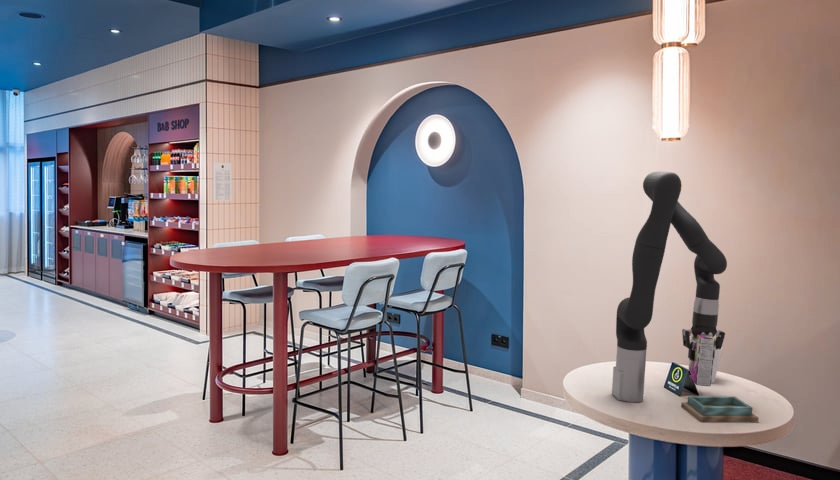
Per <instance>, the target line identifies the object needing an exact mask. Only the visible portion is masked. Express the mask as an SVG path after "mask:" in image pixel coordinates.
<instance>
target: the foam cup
mask: <svg viewBox="0 0 840 480" xmlns="http://www.w3.org/2000/svg"><path fill="white" fill-rule="evenodd" d="M722 351H723V346H722V347H721V349H717V350H715V355H714V360H713V368H712V378H711V384H714V383H715V381H716V377H717V372H718V369H719V368H718V367H719V364H720V360H721V355H722V354H723V352H722Z"/></svg>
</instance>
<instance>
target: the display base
mask: <svg viewBox="0 0 840 480" xmlns="http://www.w3.org/2000/svg"><path fill="white" fill-rule="evenodd" d="M680 404H681V405H680V406H681V409H683V410H685V411H686V412H687V413H688V414H689V415H691V416H693V417H694V418H695V419H696V420H697V421H699V422H700V423H759V416H757V415H756V414H755V413H753V407H752V406H750V405H749V404H747V403H746V402H744V401H743V400H741V399H739V398H738V397H736V396H716V395H715V396H713V395H712V396H711V395H709V396H703V395H702V396H700V395H697V396H693V395H692V396H690V395H689V396H687V402H685V401H683V402H681V403H680Z"/></svg>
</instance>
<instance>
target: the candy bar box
mask: <svg viewBox="0 0 840 480" xmlns="http://www.w3.org/2000/svg"><path fill="white" fill-rule="evenodd" d="M692 336H693V334H692V333H691V337H690V339H691V338H692ZM694 340H695V341H696V340H697V344H696V349H695V360H694V361H691V360H690V359H689V358H688V370H689V371H690V373H691V375H690V376H689V378H690V379H691V381H692V382H693V383H694V384H695V386H699V387H710V388H711V386H712V383H711V378H712V368H713V357H714V346H715V340H716V337H715V336H714V337H713V336H711V335H707V334H705V335H699V334H698V335H697V338H696V339H694Z"/></svg>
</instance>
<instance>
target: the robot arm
mask: <svg viewBox="0 0 840 480" xmlns="http://www.w3.org/2000/svg"><path fill="white" fill-rule="evenodd" d="M642 188H643V189H642V190H643V191H644V193H645V195H646V196H647V197H648V198H649V200H650V201H651V202H652V204H651V209H650V213H649V216H648V217H647V219H646V221H645V223H644V225H642V227H641V229H640V231H639V232H638V235H637V236H636V239H635V243H634V247H633V251H632V258H631V268H632V269H631V270H632V286H631V287H632V288H631V291H630V295H629V297H626V298H624V299H622V300H621V301H620V302H619V303H618V306H617V309H616V318H615V319H616V320H615V322H616V323H615V335H616V341H617V343H616V357H615V358H616V360H615V366H613V371H612V385H611V386H612V387H611V394H612V396H613V397H614V398H616V400H618V401H622V402H628V403H629V402H630V403H639V402H642V401H643V400H644V394H645V392H644V391H645V380H646V379H645V377H646V363H647V362H646V361H647V360H646V359H647V349H648V348H647V347H648V341H647V338H646V334H645V328H646V327H648V326H649V324H650V323H651V321H652V319H653V313H654V312H653V311H654V302H655V295H656V288H657V285H658V281H659V276H660V273H661V268H662V263H663V260H664V256H665V252H666V246H667V242H668V237H669V236H668V235H669V232H670V229H671V225H672V227H674V229H675V231H676V232H677V234H678V235H679V237H680V238H681V240H682V241H683V243H684V245H685V246H686V248H687V249H688V250H689V251H690V252H691V253H693V254H695V255H696V256H695V258H694V261H693V268H694V275H695V282H696V290H695V297H694V298H695V299H694V302H693V310H692V319H691V320H692V322H691V323H692V326H691V328H690V329H685V328H683V329H681V331H682V332H681V333H682V345H683V346H684V347H685V348H687V349H688V353H687V358H688V360H689V359H690V360H691V361H694V360H695V349H696V344H697V340H696V341H695V340H694V339H696V338H697V335H698V334H699V335H705V334H707V335H711V336H713V337H714V338H715V346H714V355H715V350H717V349H721V347H722V348H723V343H724V339H725V335H726V332H724V331H723V330H717V326H718V321H719V320H718V318H719V309H720V290H721V285H720V283H719V282H718V281H717V280H716V279H715V275H721V274H723V273H724V272H725V271H726V269H727V267H728V261H727V258H726V256H725V254H724V253H723V252H722V250H720V249H719V248H718V247H717V245H716V244H715V243H714V242H713V241H712V240H710V239H709V237H708V235H707V234H706V232H705V231H704V228H703V226H701V224H700V223H699V221H697V219H696V218H695V217H694V216H692V215H691V214H690V212H689V211H687V209H686V208H684V207H683V206H682V204H681V203H680V202H679V198H680V194H681V191H682V180H681V177H680V176H679V175H678V174H677V173H675V172H672V171H652V172H651V173H648V174H647V175H646V177H644V180H643V182H642ZM692 334H693V336H692ZM690 336H692V338H691V337H690ZM715 336H716V337H715ZM713 360H714V357H713Z"/></svg>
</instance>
